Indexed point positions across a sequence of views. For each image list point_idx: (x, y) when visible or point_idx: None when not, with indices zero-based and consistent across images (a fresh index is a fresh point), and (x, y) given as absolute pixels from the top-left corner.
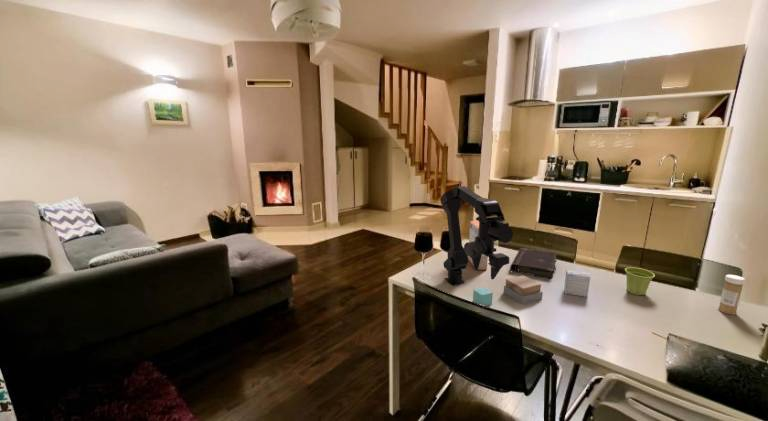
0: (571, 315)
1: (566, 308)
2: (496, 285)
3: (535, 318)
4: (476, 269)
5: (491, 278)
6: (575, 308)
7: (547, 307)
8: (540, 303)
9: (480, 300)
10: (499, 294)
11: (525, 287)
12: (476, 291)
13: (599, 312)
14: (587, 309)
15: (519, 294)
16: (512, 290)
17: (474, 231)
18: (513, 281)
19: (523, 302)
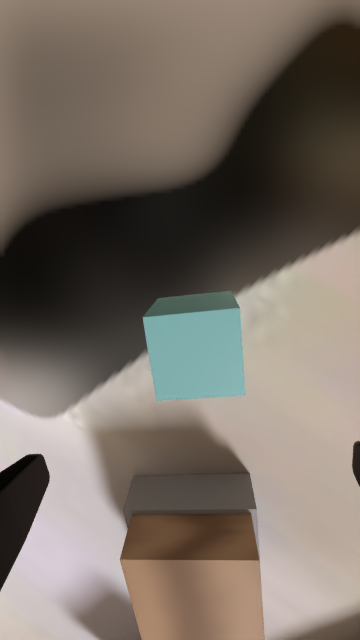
0: (30, 554)
1: (73, 572)
2: (328, 489)
3: (27, 449)
4: (355, 457)
5: (26, 459)
6: (68, 590)
7: (91, 531)
8: (122, 531)
9: (162, 305)
10: (241, 448)
11: (129, 574)
12: (203, 311)
13: (36, 620)
14: (56, 610)
15: (148, 511)
16: (194, 510)
17: None
18: (215, 572)
19: (132, 486)
